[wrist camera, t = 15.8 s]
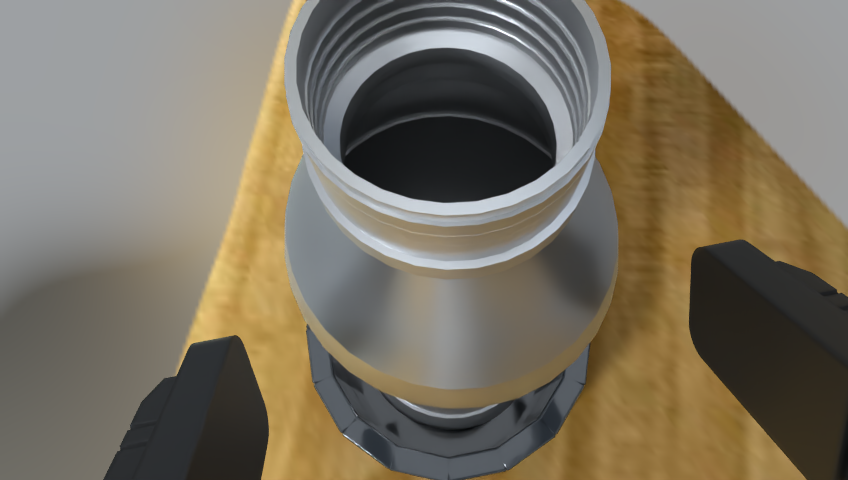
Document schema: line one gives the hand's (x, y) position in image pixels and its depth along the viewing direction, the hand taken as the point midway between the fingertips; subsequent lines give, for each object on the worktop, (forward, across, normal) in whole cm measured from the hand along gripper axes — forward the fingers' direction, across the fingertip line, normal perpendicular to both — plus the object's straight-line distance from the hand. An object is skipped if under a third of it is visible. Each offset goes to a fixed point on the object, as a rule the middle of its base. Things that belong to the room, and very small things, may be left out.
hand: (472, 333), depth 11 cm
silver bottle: (+12, 0, +9) cm, 15 cm away
